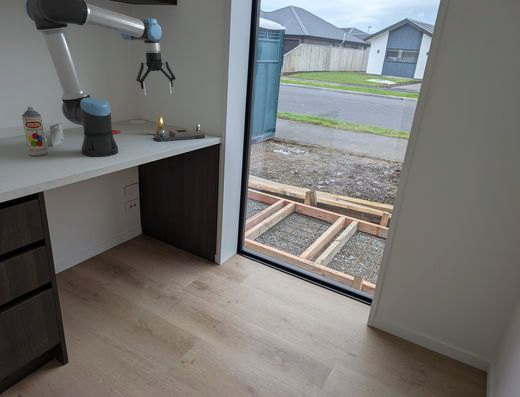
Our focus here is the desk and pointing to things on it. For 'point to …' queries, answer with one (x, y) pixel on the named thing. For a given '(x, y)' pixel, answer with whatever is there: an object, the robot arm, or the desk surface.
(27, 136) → the aerosol can
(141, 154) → the desk surface
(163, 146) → the desk surface
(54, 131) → the ink cartridge box
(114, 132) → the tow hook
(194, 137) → the door bolt
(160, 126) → the brass pin
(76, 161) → the desk surface
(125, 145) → the desk surface
